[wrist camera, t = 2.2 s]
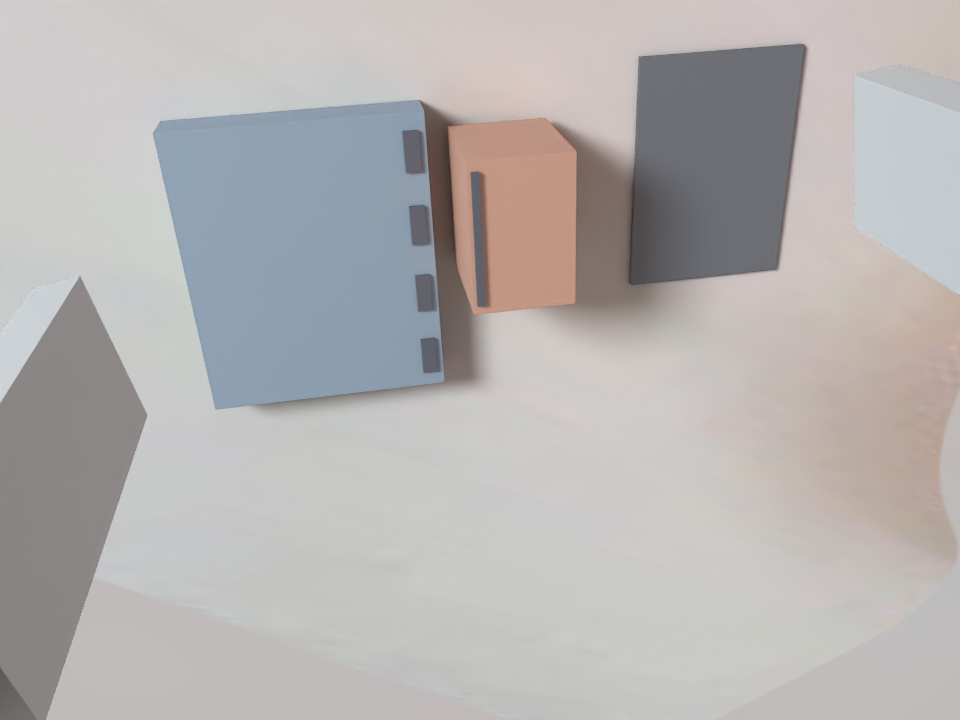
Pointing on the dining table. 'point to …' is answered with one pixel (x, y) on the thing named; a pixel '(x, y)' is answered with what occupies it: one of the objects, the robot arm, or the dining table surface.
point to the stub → (514, 214)
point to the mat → (712, 161)
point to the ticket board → (307, 249)
